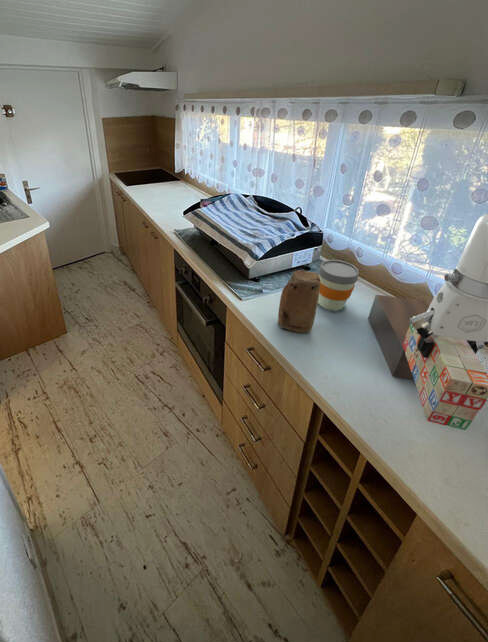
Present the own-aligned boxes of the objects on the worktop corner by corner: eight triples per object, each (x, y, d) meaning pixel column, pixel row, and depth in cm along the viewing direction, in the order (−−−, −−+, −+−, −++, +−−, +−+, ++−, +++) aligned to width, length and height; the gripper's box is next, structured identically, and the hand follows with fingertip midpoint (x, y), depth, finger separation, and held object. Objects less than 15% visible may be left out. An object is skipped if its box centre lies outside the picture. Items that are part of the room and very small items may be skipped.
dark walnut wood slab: (413, 324, 102) (424, 300, 97) (451, 386, 81) (467, 358, 76) (367, 318, 105) (375, 294, 100) (392, 376, 84) (404, 349, 79)
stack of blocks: (401, 344, 76) (417, 305, 70) (430, 350, 74) (449, 310, 68) (427, 421, 59) (451, 377, 53) (467, 432, 57) (496, 387, 51)
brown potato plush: (309, 321, 104) (320, 271, 95) (311, 336, 98) (324, 284, 88) (276, 316, 107) (284, 267, 97) (277, 330, 100) (285, 279, 91)
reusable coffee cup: (327, 289, 120) (335, 256, 113) (356, 306, 111) (367, 271, 104) (305, 299, 115) (312, 265, 108) (333, 318, 105) (343, 281, 98)
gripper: (432, 289, 53) (401, 362, 61) (555, 300, 49) (504, 377, 58) (415, 267, 59) (389, 336, 68) (522, 276, 56) (481, 348, 64)
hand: (442, 354), depth 63 cm, fingers closed on stack of blocks, 6 cm apart
